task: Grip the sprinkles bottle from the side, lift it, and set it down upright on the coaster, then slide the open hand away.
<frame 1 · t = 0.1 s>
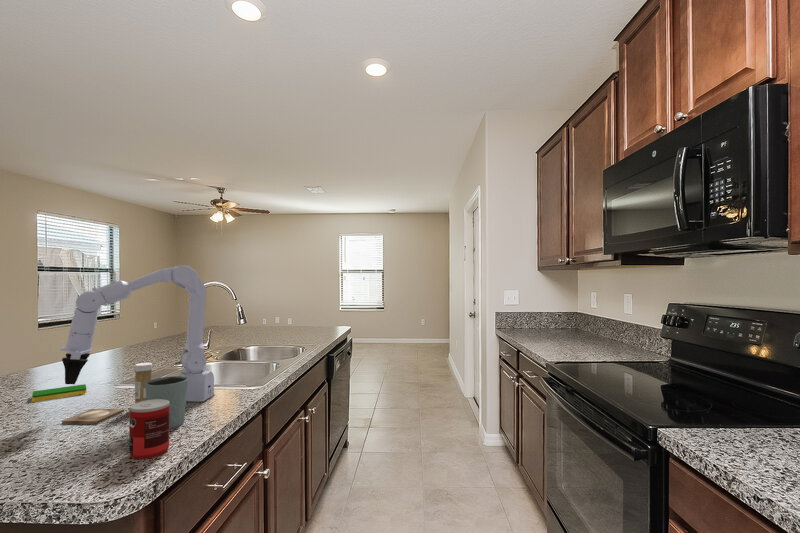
hand: (71, 381, 114), 11 cm above the countertop, tool pointing down, fingers open, 7 cm apart
sprinkles bottle: (143, 408, 123), on the countertop
canned food: (149, 453, 92), on the countertop
dish sponge: (60, 397, 136), on the countertop
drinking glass: (166, 425, 110), on the countertop
spice coaster: (94, 417, 115), on the countertop
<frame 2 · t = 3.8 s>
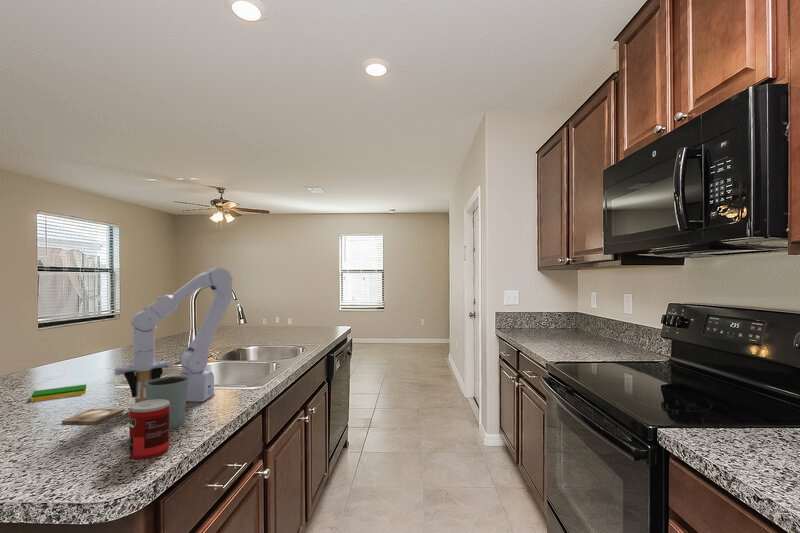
hand: (143, 394, 124), 4 cm above the countertop, tool pointing down, fingers closed on sprinkles bottle, 4 cm apart
sprinkles bottle: (143, 408, 123), on the countertop, touching gripper
everything else where it was.
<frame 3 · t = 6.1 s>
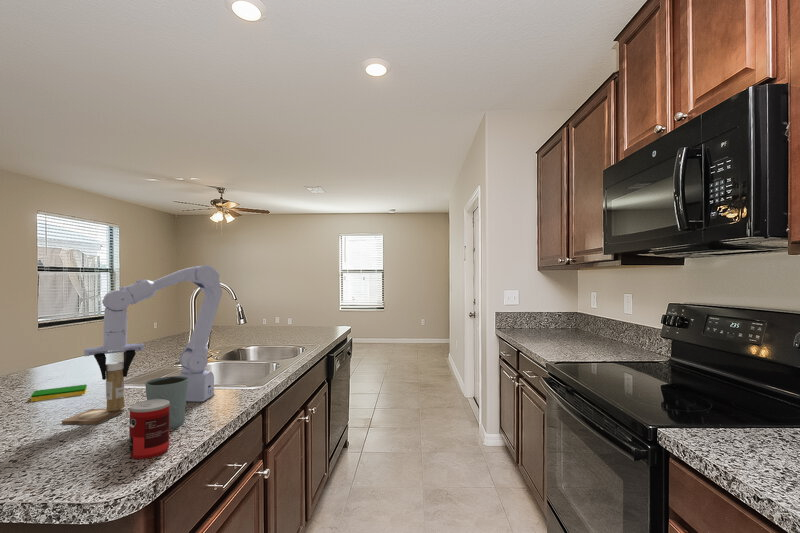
hand: (114, 377, 118), 10 cm above the countertop, tool pointing down, fingers closed on sprinkles bottle, 4 cm apart
sprinkles bottle: (115, 409, 118), point 1 cm above the countertop, touching gripper
everything else where it was.
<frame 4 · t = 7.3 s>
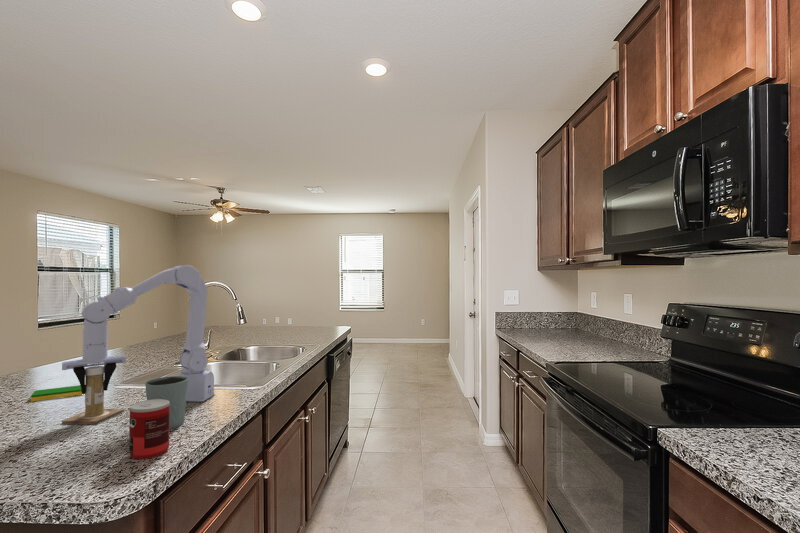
hand: (94, 391, 115), 7 cm above the countertop, tool pointing down, fingers closed on sprinkles bottle, 4 cm apart
sprinkles bottle: (94, 415, 115), point 1 cm above the countertop, touching gripper, spice coaster
everything else where it was.
when the fingers open (6 cm above the countertop, at t = 8.0 s): sprinkles bottle stays where it is, resting on spice coaster.
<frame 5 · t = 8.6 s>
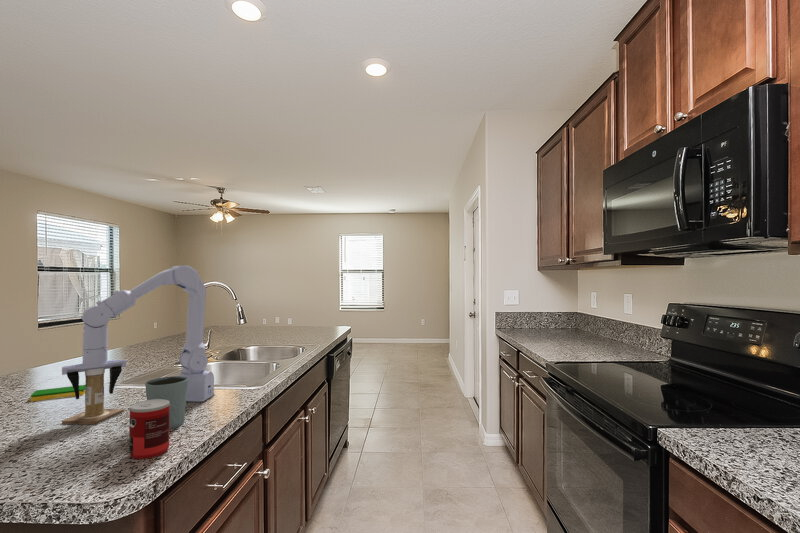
hand: (94, 395, 115), 6 cm above the countertop, tool pointing down, fingers open, 7 cm apart
sprinkles bottle: (94, 415, 115), point 1 cm above the countertop, touching spice coaster
everything else where it was.
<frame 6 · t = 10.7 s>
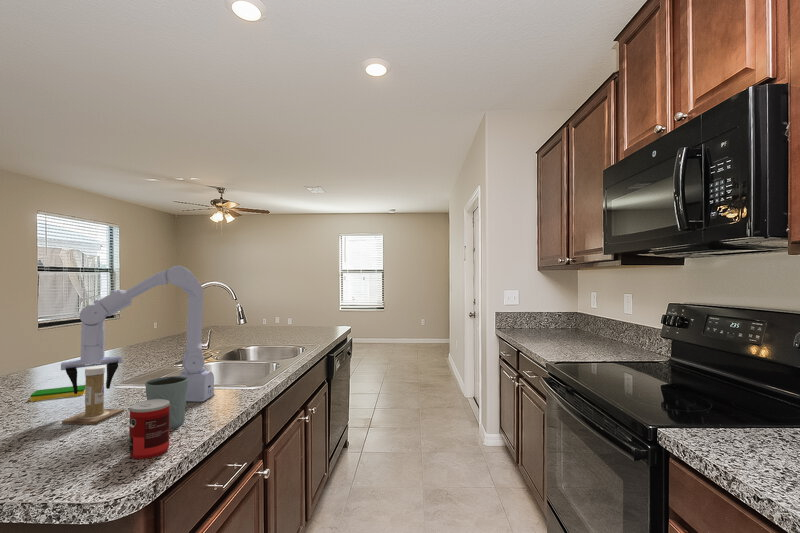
hand: (92, 390, 120), 6 cm above the countertop, tool pointing down, fingers open, 7 cm apart
nothing on the countertop moved.
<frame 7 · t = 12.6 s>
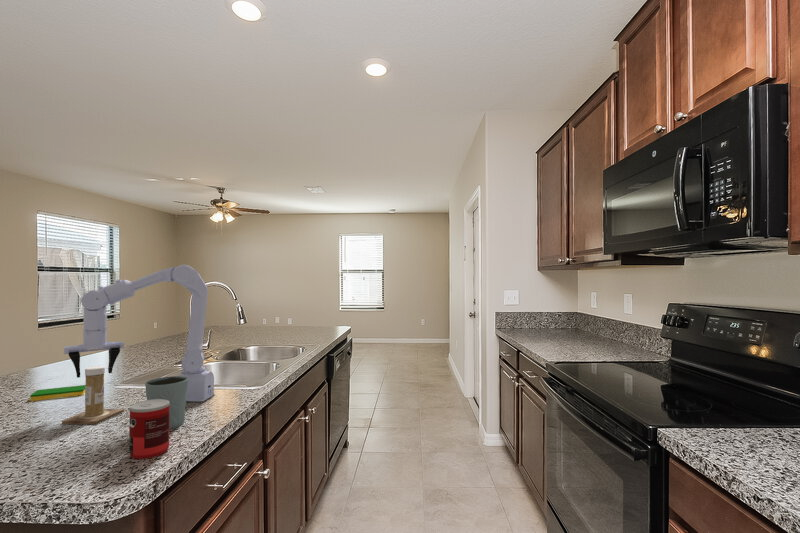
hand: (94, 374, 122), 10 cm above the countertop, tool pointing down, fingers open, 7 cm apart
nothing on the countertop moved.
at the end: sprinkles bottle 0.1 cm from the spice coaster (horizontally); sprinkles bottle tilted 0°; sprinkles bottle touching spice coaster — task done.
